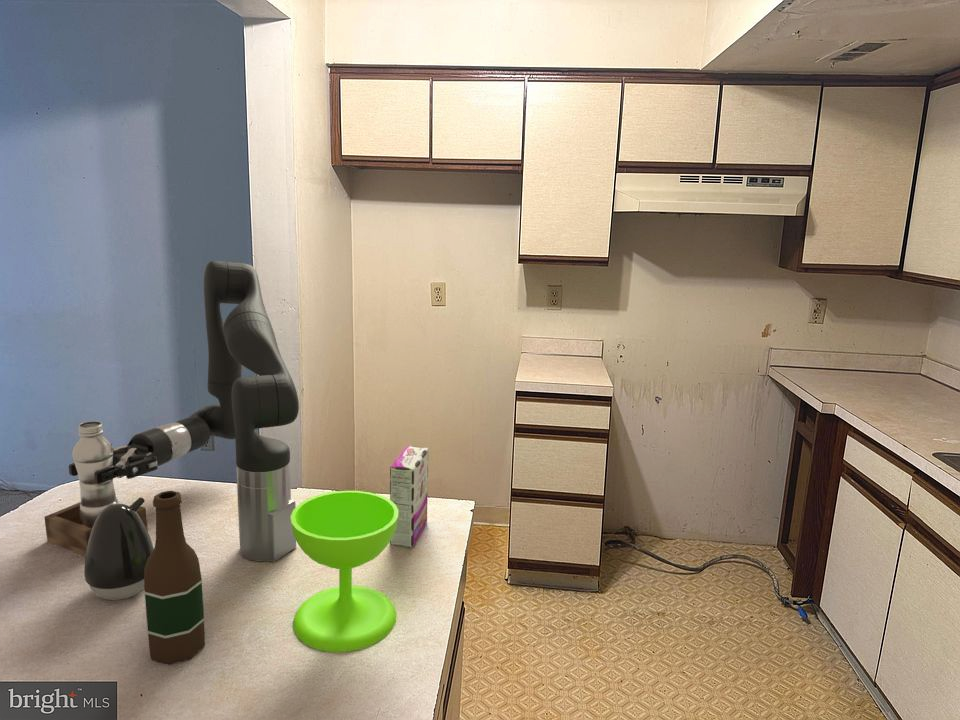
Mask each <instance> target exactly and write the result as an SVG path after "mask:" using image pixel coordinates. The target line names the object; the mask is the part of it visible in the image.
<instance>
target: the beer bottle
mask: <svg viewBox="0 0 960 720" xmlns="http://www.w3.org/2000/svg"><path fill="white" fill-rule="evenodd" d="M181 503H183V499H182V496H181V492H179V491H176V490H166V491H162V492H159V493H157V494H156V495H154V497H153V500H152V506H153V508H155V543H154V550H153V551H152V553H151V554H150V556H149V557H148V559H147V562H146V565H145V568H144V589H143V591H144V599H145V601H144V602H145V612H146V626H147V627H146V628H147V638H148V648H149V655H150V660H151V661H153V662H157V663H160V664H163V665H167V666H171V665H174V664H178V663H181V662H186V661H187V662H188V661H190V660H192V659H193V658H194V657H195V656H196V655H197V654H199V652H201V651H202V649H204V647H206V646H205V645H206V631H205V630H206V628H205V626H206V625H205V613H204V612H205V611H204V598H203V597H204V595H203V594H204V593H203V579H202V572H201V566H200V560H199V557H198V555H197V553H196V551H195V549H194V548H193V547H192V546H191V545H189V543H188V542H187V539H186V537H185V534H184V533H185V532H184V526H183V525H184V524H183V517H182V511H181V509H182V508H181Z"/></svg>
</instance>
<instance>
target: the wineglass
mask: <svg viewBox="0 0 960 720" xmlns="http://www.w3.org/2000/svg"><path fill="white" fill-rule="evenodd" d="M398 512H399V510H398V508H397V506H396V504H394V503H393V502H392V501H391V500H390V498H387V497H385V496H384V495H381V494H377V493H373V492H369V491H362V490H338V491H329V492H326V493H322V494H317V495H314V496H312V497H310V498H307V499H306V500H303V501H302V502H300V503H299V504H297V505H296V508H295V509H294V510H293V512H292V514H291V523H292V529H293V534H294V537H295V539H296V544H298V547H299V548H300V549H301V550H302V552H303V553H304V554H306V556H307V557H309V559H310V560H312V561H314V562H315V563H317V564H319V565H322V566H325V567H328V568H331V569H335V570H339V571H338V578H339V581H338V584H339V586H334V587H331V588H327V589H325V590H324V589H323V590H321V591H320V592H317V593H315V594H313V595H311V596H310V597H309V598H308V599H306V600H305V601H304V602H302V604H301V605H300V606H299V607H298V609H297V610H296V612H295V614H294V617H293V621H292V626H293V627H292V628H293V632H294V634H295V635H296V637H297V639H298V640H299V641H301V642H302V643H303V644H305V646H309V647H311V648H312V649H313V648H314V649H316V650H318V651H324V652H329V653H330V652H331V653H344V652H345V653H346V652H347V653H348V652H352V651H357V650H359V651H360V650H361V649H362V650H363V649H365V648H368V647H371V646H373V645H375V644H377V643H378V642H380V641H381V640H383V639H385V637H386V636H388V634H389V633H391V632H392V631H393V628H394V627H395V625H396V622H397V610H396V608H395V605H394V603H393V602H392V601H391V600H390V599H389V598H388V596H387V595H385V594H383V593H382V592H380V591H378V590H376V589H373V588H370V587H368V586H367V587H366V586H361V585H353V578H352V577H353V573H352V572H353V569H354V568H357V567H361V566H363V565H365V564H366V563H367V564H368V563H369V562H370V561H373V560H374V559H376V558H377V557H378V556H380V555H381V553H382V552H383V551H384V550H385V549H386V548H387V547H388V545H390V541H391V539H392V537H393V535H394V533H395V531H396V527H397V521H398Z"/></svg>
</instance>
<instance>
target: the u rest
mask: <svg viewBox="0 0 960 720" xmlns="http://www.w3.org/2000/svg"><path fill="white" fill-rule="evenodd" d="M80 504H81V501H79V502H77V503H75V504H73V505H70V506H67V507H64V508H62V509H59V510H58V511H55V512H52V513H50V514H48V515H45V516H43V517H44V524H45V525H44V527H45V533H46V541H47V542H48V543H50V544H53V545H56V546H58V547H61V548H63V549H66V550H69V551H71V552H74V553H77V554H79V553H80V555H81V554H82V555H81V556H84V555H85V556H86V549H87V544H88V540H89V537H90V533H91V530H92V528H89V527H86V526H85V525H84V524H83V523H82V521H81V518H80ZM136 513H137V514H138V515H139V517H140V518H141V520H142V521H143V523H144V525H145V527H146V529H147V531H148V519H147V507H144V506H143V505H141V506H140V508H139V509H138V510H137V511H136ZM148 532H149V531H148ZM85 556H84V557H85Z"/></svg>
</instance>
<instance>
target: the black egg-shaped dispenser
mask: <svg viewBox="0 0 960 720" xmlns="http://www.w3.org/2000/svg"><path fill="white" fill-rule="evenodd" d="M144 503H145V499H144V498H143V497H141V496H140V497H139V498H137V499H136V500H135V501H134V502H133V503H132V504H130V505H128V504H126V503H125V504H124V503H119V504H113V505H110V506H108V507H106V508H105V509H103V510H102V511H101V512H100V514H99V515H98V517H97V519H96V520H95V522H94V525H93V527H92V530H91V533H90V537H89V540H88V544H87V549H86V556H84V570H83V571H84V573H83V574H84V580H85V583H86V584H87V585H88V586H89V588H90V589H91V591H92V593H94V594H95V595H96V596H98V597H100V598H102V599H105V600H111V601H112V600H113V601H119V600H125V599H128V598H130V597H133V596H136V595H137V594H139V593H140V592H141V591H144V568H145V565H146V562H147V559H148V557H149V556H150V554H151V553H152V551H153V550H154V549H155V547H154V545H153V541H152V538H151V535H150V533H149V531H147V529H148V528H147V529H146V527H145V525H144V523H143V521H142V520H141V518H140V517H139V515H138V514H137V513H136V511H137V510H138V509H139V508H140V507H141V506H143V504H144Z"/></svg>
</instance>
